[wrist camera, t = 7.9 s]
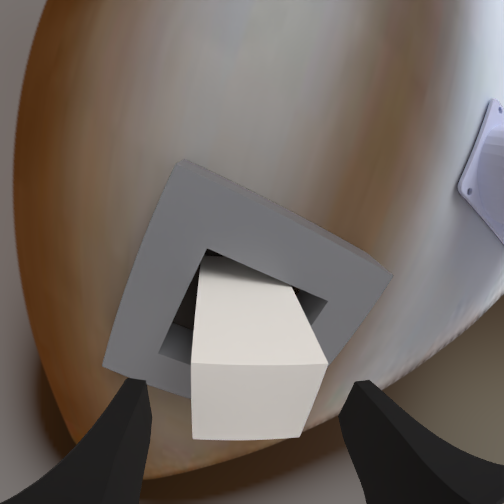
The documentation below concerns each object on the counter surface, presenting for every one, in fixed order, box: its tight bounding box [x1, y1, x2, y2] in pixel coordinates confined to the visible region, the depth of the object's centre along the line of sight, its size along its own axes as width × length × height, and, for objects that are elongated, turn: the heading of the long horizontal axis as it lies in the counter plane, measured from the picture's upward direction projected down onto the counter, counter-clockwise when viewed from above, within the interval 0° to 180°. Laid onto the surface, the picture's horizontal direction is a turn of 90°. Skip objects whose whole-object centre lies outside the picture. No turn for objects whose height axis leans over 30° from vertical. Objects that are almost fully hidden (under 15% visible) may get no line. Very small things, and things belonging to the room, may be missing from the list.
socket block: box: [102, 159, 393, 399], centre depth 15 cm, size 11×11×3 cm
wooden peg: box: [191, 256, 328, 440], centre depth 12 cm, size 4×4×8 cm
